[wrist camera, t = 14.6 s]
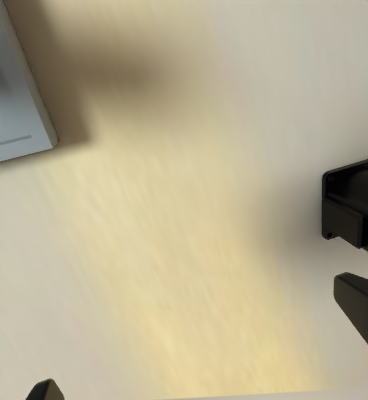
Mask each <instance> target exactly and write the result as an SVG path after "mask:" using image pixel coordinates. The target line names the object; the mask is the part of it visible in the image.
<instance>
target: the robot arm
mask: <svg viewBox="0 0 368 400" xmlns="http://www.w3.org/2000/svg"><path fill="white" fill-rule="evenodd" d="M329 177H330V178H329ZM328 178H329V179H328ZM322 236H323V237H324V238H325V239H327V240H329V239H332V238H335V237H338V236H340V237H341V238H343V239H344V240H346V241H347V242H349V243H350V244H352V245H353V246H355V247H356V248H358V249H360V248H363V249H364V250H366V251H367V252H368V160H364V161H361V162H358V163H354V164H351V165H348V166H344V167H341V168H338V169H334V170H331V171H328V172H326V173H325V174H324V175H323V177H322ZM333 294H334V298H335V300H336V302H337V303H338V305H339V306H340V308H341V309H342V310H343V312H344V313H345V314H346V316H347V317H348V318H349V320H350V321H351V322H352V324H353V325H354V327H355V328H356V329H357V331H358V332H359V333H360V335H361V336H362V337H363V339H364V340H365V341H366V343H367V344H368V279H365V278H363V277H360V276H357V275H354V274H351V273H348V272H345V273H342V274H339V275H336V276H335V278H334V293H333ZM26 400H64V396H63V394H62V392H61V391H60V389H59V387H58V386H57V384H56V383H55V381H54V380H53V379H47V380H44V381H41V382H39V383H37V384H36V385H35V386H34V387H33V389H32V390H31V392H30V393H29V395H28V396H27V398H26Z"/></svg>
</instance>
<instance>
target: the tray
mask: <svg viewBox="0 0 368 400" xmlns="http://www.w3.org/2000/svg"><path fill="white" fill-rule="evenodd" d="M58 142H59V139H58V136H57V134H56V131H55V129H54V126H53V124H52V121H51V119H50V116H49V114H48V111H47V109H46V106H45V104H44V101H43V99H42V96H41V94H40V91H39V89H38V86H37V84H36V81H35V79H34V76H33V74H32V71H31V69H30V66H29V64H28V61H27V59H26V56H25V54H24V51H23V49H22V46H21V44H20V41H19V39H18V36H17V34H16V31H15V29H14V26H13V24H12V21H11V19H10V16H9V14H8V11H7V9H6V6H5V4H4V1H3V0H0V161H4V160H8V159H12V158H16V157H20V156H24V155H28V154H32V153H36V152H39V151H43V150H47V149H51V148H53V147H54V146H55V145H56V144H57V143H58Z"/></svg>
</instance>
